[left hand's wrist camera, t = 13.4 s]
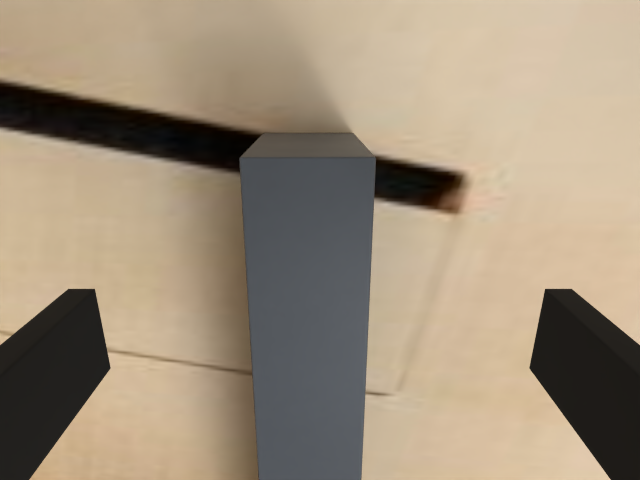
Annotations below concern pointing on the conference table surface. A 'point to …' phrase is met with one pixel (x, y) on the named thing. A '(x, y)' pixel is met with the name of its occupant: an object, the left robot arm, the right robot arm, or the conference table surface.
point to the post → (308, 300)
